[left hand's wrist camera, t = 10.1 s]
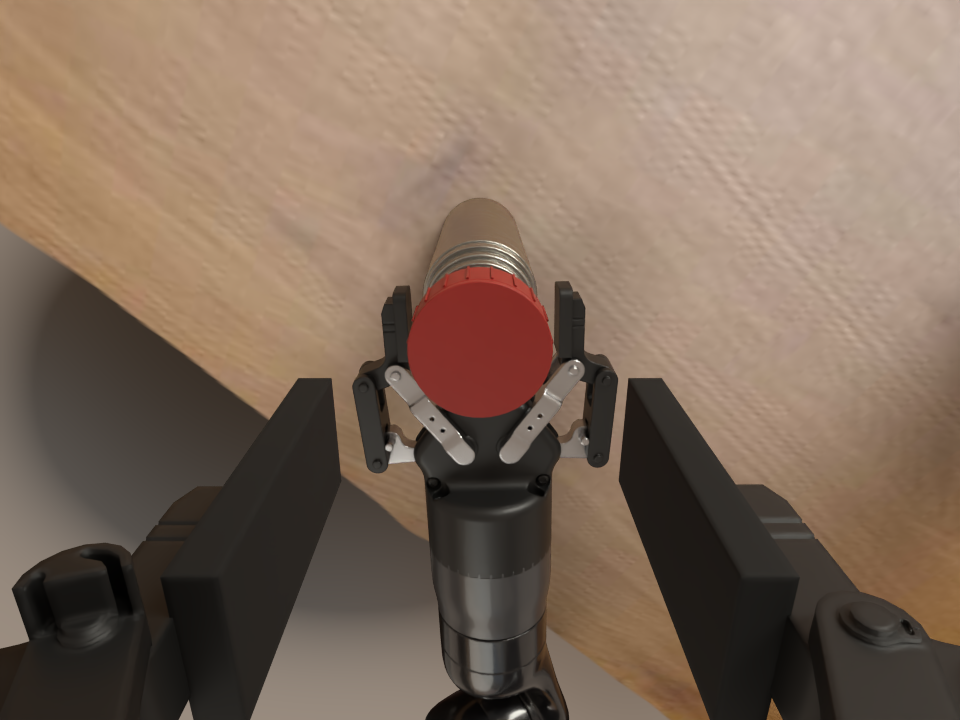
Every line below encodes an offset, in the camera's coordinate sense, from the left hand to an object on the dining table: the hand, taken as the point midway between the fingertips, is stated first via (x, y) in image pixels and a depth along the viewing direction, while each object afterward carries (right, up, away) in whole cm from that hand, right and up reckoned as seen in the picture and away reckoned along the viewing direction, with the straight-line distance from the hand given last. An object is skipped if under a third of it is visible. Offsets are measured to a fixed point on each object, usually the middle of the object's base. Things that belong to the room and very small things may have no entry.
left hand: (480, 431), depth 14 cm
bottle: (0, +9, +24) cm, 25 cm away
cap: (0, +2, +5) cm, 6 cm away
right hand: (0, +5, +18) cm, 19 cm away
